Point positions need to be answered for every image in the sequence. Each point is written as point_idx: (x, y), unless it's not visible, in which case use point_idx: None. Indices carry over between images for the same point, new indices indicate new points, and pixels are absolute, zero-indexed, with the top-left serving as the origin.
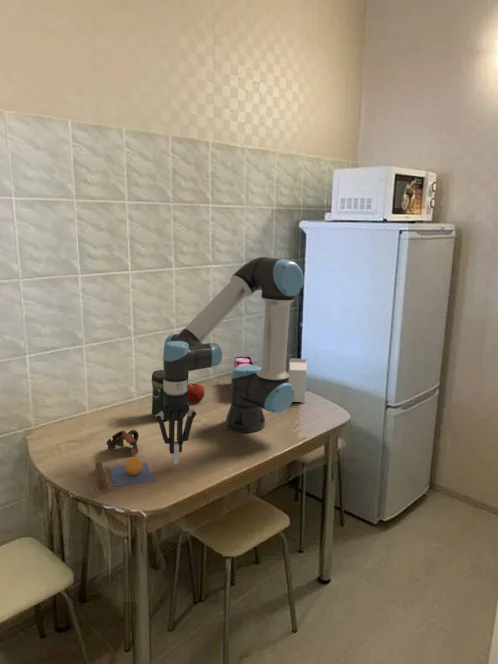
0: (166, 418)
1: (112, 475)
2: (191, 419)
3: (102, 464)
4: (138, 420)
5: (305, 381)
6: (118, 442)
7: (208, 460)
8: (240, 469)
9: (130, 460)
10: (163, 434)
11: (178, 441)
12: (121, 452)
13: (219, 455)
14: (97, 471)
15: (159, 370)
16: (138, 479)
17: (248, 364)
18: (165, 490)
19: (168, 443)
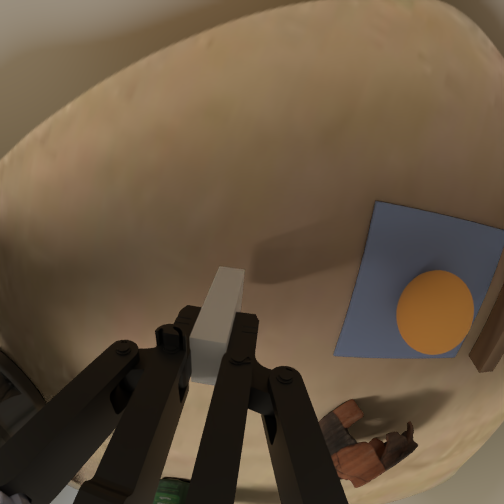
0: (181, 484)
1: (477, 306)
2: (5, 461)
3: (489, 357)
4: (246, 496)
5: None
6: (400, 447)
7: (89, 266)
8: (14, 153)
9: (467, 324)
10: (318, 439)
11: (185, 359)
12: (367, 423)
13: (53, 281)
14: None
15: None
16: (430, 238)
17: None
18: (362, 87)
19: (267, 369)
